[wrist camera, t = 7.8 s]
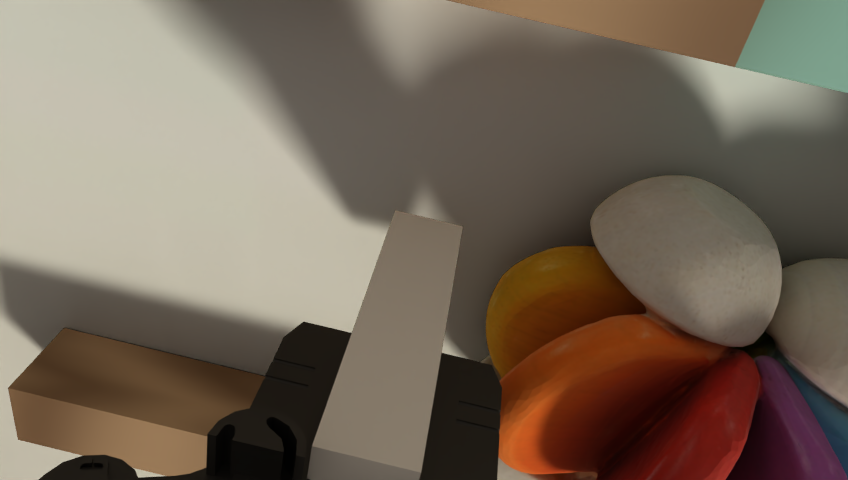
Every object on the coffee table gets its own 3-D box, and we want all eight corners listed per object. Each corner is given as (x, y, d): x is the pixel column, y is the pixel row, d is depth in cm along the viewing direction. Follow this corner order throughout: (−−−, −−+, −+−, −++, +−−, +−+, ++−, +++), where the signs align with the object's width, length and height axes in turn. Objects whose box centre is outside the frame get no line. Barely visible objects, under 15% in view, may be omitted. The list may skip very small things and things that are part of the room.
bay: (69, 377, 21) (-136, 623, 14) (-9, -256, 12) (-596, -343, 6) (865, 570, 21) (1016, 910, 14) (1349, 54, 12) (2294, 320, 6)
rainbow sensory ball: (593, 102, 14) (638, 308, 8) (962, 292, 16) (1241, 599, 9) (425, 361, 19) (372, 622, 13) (721, 496, 20) (804, 794, 14)
